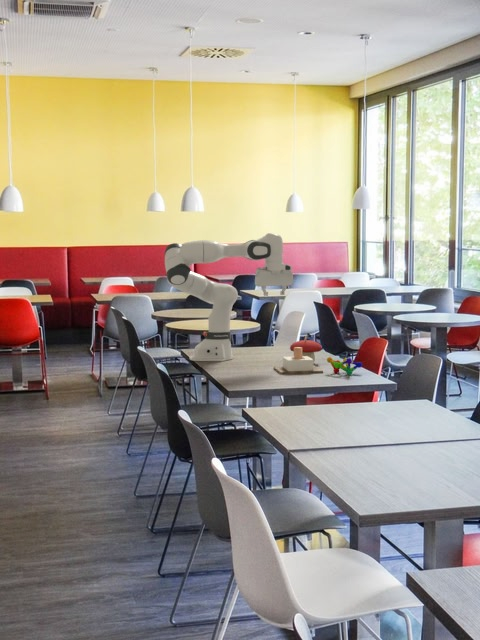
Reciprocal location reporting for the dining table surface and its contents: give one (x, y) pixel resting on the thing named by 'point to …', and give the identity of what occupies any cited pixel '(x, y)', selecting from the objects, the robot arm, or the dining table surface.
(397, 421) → the dining table surface
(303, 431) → the dining table surface
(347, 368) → the decorative model
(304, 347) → the mushroom
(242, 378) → the dining table surface
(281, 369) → the base board
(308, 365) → the socket block
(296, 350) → the peg
